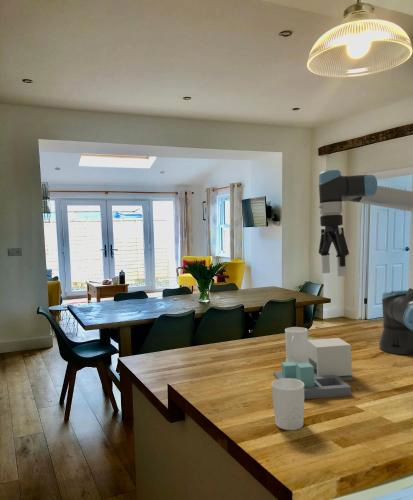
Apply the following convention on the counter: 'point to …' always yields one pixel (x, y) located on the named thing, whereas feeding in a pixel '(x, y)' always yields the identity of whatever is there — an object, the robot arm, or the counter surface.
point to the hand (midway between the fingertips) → (333, 274)
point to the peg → (305, 374)
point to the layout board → (345, 378)
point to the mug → (296, 344)
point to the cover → (330, 356)
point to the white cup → (288, 403)
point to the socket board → (327, 387)
